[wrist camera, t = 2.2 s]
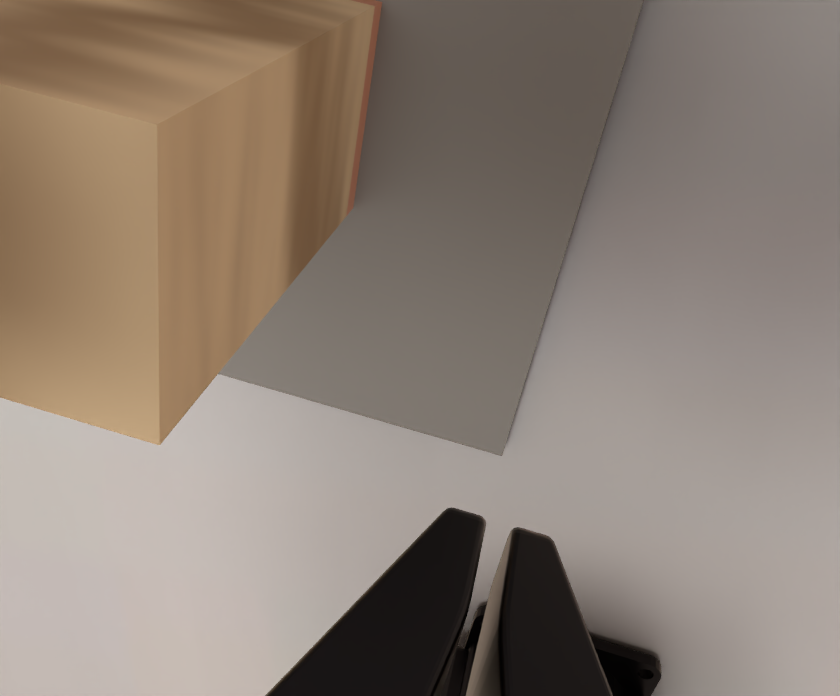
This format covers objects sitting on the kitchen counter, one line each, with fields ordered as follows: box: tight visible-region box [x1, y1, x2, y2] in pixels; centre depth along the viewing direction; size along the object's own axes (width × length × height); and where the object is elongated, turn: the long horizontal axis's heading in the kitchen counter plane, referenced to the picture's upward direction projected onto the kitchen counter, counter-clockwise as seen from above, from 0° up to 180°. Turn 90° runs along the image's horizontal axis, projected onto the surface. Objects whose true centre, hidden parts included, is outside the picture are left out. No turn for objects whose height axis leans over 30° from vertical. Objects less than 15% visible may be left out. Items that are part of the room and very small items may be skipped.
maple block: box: [0, 0, 382, 445], centre depth 15 cm, size 5×5×10 cm
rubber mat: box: [218, 0, 644, 456], centre depth 19 cm, size 22×18×2 cm
